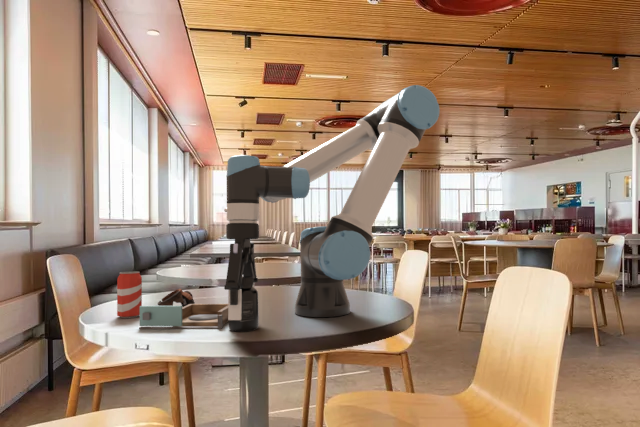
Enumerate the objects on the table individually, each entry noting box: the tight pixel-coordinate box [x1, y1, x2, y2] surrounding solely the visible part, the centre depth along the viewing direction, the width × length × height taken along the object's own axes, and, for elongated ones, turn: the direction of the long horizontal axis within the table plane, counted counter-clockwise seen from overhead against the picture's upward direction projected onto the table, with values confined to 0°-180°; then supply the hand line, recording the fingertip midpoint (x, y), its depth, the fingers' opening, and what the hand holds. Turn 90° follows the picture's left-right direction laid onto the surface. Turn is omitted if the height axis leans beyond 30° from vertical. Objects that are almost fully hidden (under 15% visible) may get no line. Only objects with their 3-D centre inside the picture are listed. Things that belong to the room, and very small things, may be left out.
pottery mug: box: [157, 288, 196, 307], centre depth 125 cm, size 12×10×8 cm
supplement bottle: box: [228, 276, 260, 333], centre depth 106 cm, size 7×7×12 cm
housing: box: [138, 303, 229, 330], centre depth 114 cm, size 20×15×4 cm
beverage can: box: [116, 271, 143, 319], centre depth 124 cm, size 6×6×12 cm
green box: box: [139, 305, 182, 327], centre depth 107 cm, size 10×2×5 cm, turn 87°
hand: (242, 314), depth 105 cm, fingers open, 13 cm apart
